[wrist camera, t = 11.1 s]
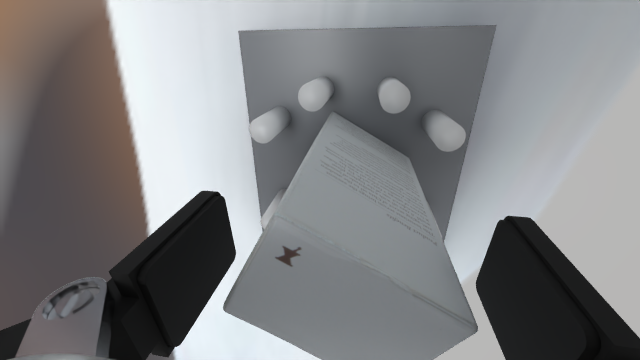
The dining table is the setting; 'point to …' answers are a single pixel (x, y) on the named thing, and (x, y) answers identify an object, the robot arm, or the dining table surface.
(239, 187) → the dining table surface
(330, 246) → the skincare box
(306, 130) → the peg board
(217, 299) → the dining table surface
